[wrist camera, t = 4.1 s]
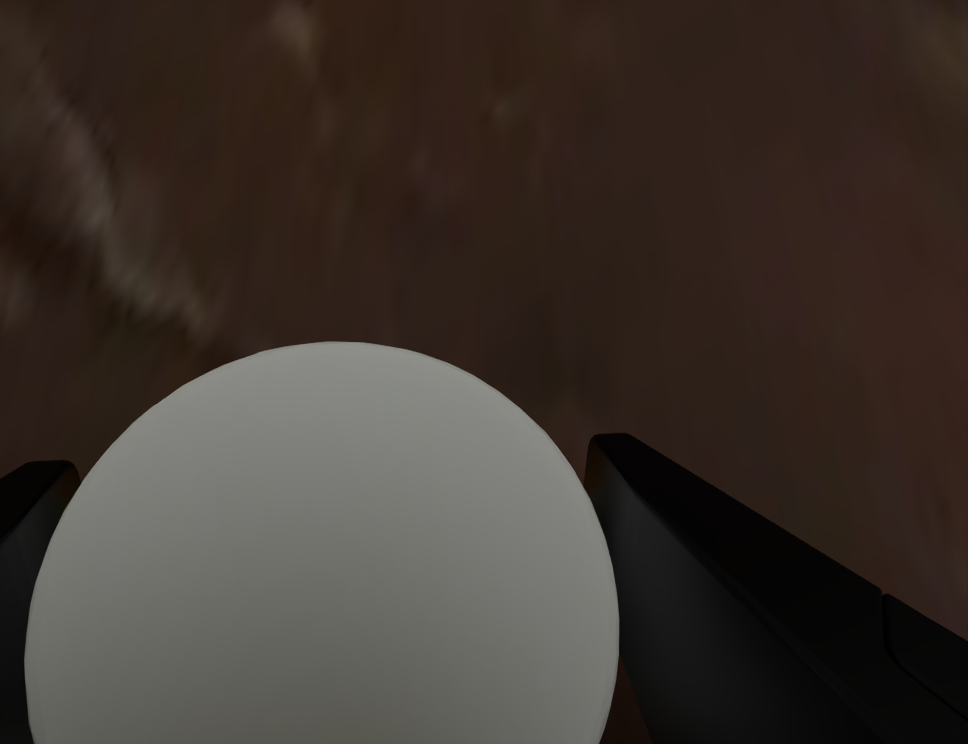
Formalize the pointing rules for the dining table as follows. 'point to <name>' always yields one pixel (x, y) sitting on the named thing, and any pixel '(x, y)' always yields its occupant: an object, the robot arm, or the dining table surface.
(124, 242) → the dining table surface
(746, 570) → the robot arm
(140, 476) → the supplement bottle
